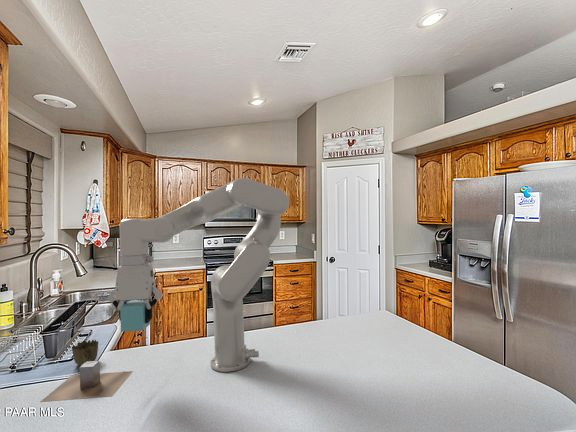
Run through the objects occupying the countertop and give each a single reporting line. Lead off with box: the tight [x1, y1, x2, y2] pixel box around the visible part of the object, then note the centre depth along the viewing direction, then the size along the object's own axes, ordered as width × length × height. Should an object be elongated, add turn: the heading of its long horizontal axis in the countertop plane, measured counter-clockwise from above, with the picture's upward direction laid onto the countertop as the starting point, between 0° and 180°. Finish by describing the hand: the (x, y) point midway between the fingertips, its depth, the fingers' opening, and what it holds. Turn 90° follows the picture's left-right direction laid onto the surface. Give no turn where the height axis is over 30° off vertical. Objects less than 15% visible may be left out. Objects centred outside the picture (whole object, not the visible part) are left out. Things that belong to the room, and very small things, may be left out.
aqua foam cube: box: [120, 300, 152, 333], centre depth 96 cm, size 6×6×7 cm
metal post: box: [78, 360, 101, 389], centre depth 92 cm, size 4×4×6 cm
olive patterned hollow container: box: [71, 339, 99, 366], centre depth 107 cm, size 8×7×8 cm
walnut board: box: [39, 370, 134, 403], centre depth 92 cm, size 18×14×2 cm
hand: (136, 321), depth 96 cm, fingers closed on aqua foam cube, 6 cm apart
